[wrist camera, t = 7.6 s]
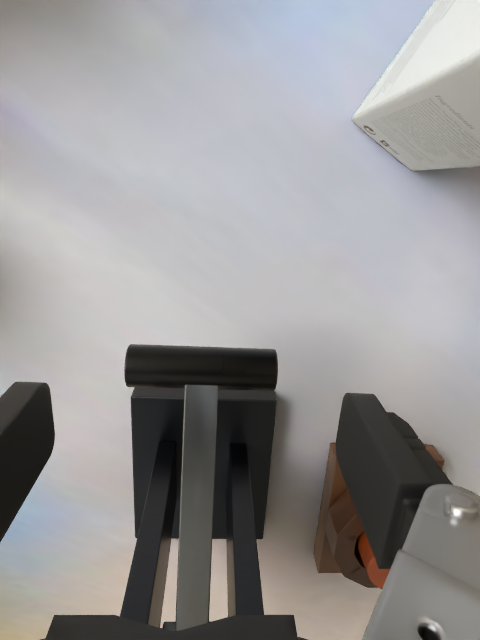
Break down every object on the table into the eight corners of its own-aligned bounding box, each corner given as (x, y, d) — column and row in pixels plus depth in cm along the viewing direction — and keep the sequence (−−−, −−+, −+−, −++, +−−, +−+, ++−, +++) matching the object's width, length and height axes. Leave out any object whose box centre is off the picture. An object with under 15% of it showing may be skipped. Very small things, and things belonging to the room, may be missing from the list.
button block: (330, 442, 26) (346, 482, 23) (432, 444, 26) (463, 484, 23) (313, 553, 29) (325, 603, 25) (405, 553, 29) (429, 602, 26)
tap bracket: (134, 386, 24) (34, 643, 11) (274, 390, 24) (337, 640, 11) (138, 523, 27) (64, 846, 14) (261, 524, 28) (298, 837, 15)
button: (362, 516, 24) (373, 542, 22) (424, 517, 24) (439, 542, 22) (353, 564, 25) (362, 591, 23) (411, 564, 25) (425, 591, 24)
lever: (135, 342, 15) (121, 346, 13) (270, 346, 16) (281, 352, 13) (122, 696, 16) (106, 765, 13) (256, 694, 16) (264, 761, 13)
